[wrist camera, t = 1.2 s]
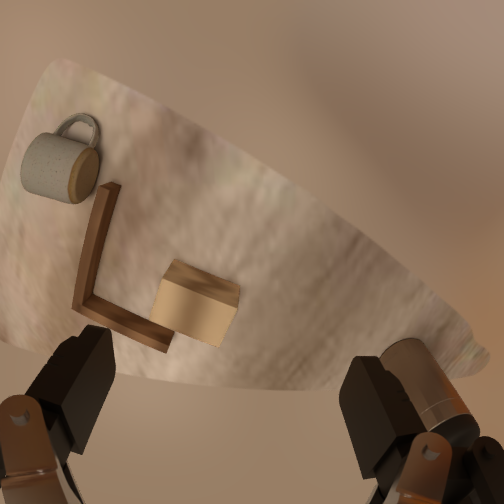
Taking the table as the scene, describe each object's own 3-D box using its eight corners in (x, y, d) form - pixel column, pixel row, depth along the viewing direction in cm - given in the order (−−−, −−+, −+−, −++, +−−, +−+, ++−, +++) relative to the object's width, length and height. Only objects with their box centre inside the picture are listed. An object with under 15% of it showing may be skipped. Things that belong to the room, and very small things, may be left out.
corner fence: (218, 227, 37) (214, 236, 34) (171, 339, 43) (166, 353, 40) (111, 181, 35) (98, 185, 32) (82, 297, 41) (71, 308, 38)
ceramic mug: (95, 201, 36) (65, 214, 29) (48, 186, 35) (14, 196, 28) (115, 120, 33) (85, 115, 26) (65, 110, 32) (30, 106, 25)
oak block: (239, 285, 40) (237, 308, 34) (222, 321, 42) (218, 347, 36) (174, 258, 39) (162, 278, 33) (161, 296, 41) (148, 319, 35)
